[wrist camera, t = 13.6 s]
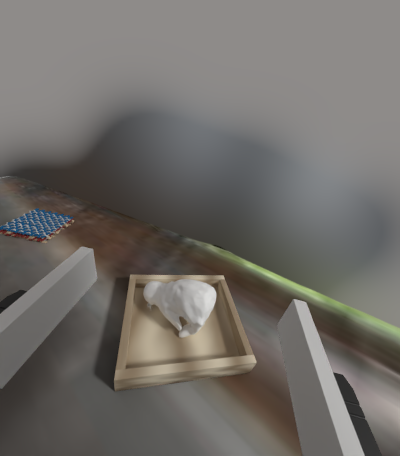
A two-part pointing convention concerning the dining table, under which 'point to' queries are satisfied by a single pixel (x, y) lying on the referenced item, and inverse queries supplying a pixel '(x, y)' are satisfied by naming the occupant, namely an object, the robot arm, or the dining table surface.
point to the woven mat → (36, 225)
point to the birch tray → (179, 340)
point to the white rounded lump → (182, 302)
